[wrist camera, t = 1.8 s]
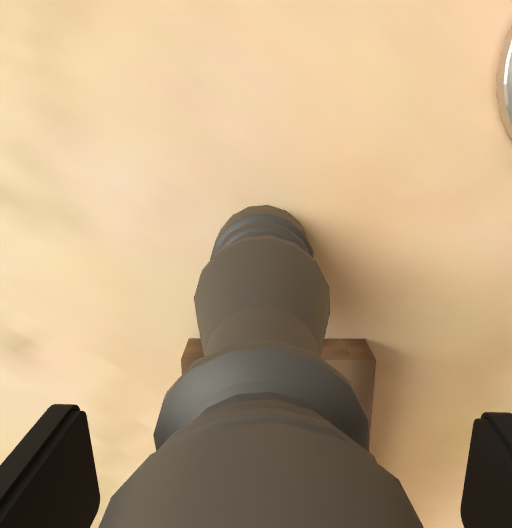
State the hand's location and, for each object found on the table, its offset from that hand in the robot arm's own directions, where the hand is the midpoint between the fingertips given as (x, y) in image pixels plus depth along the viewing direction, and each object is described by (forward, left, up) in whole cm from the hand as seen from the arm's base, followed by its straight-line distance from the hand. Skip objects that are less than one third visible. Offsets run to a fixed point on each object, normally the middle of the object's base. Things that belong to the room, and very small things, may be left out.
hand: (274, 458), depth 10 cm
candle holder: (0, 0, -19) cm, 19 cm away
